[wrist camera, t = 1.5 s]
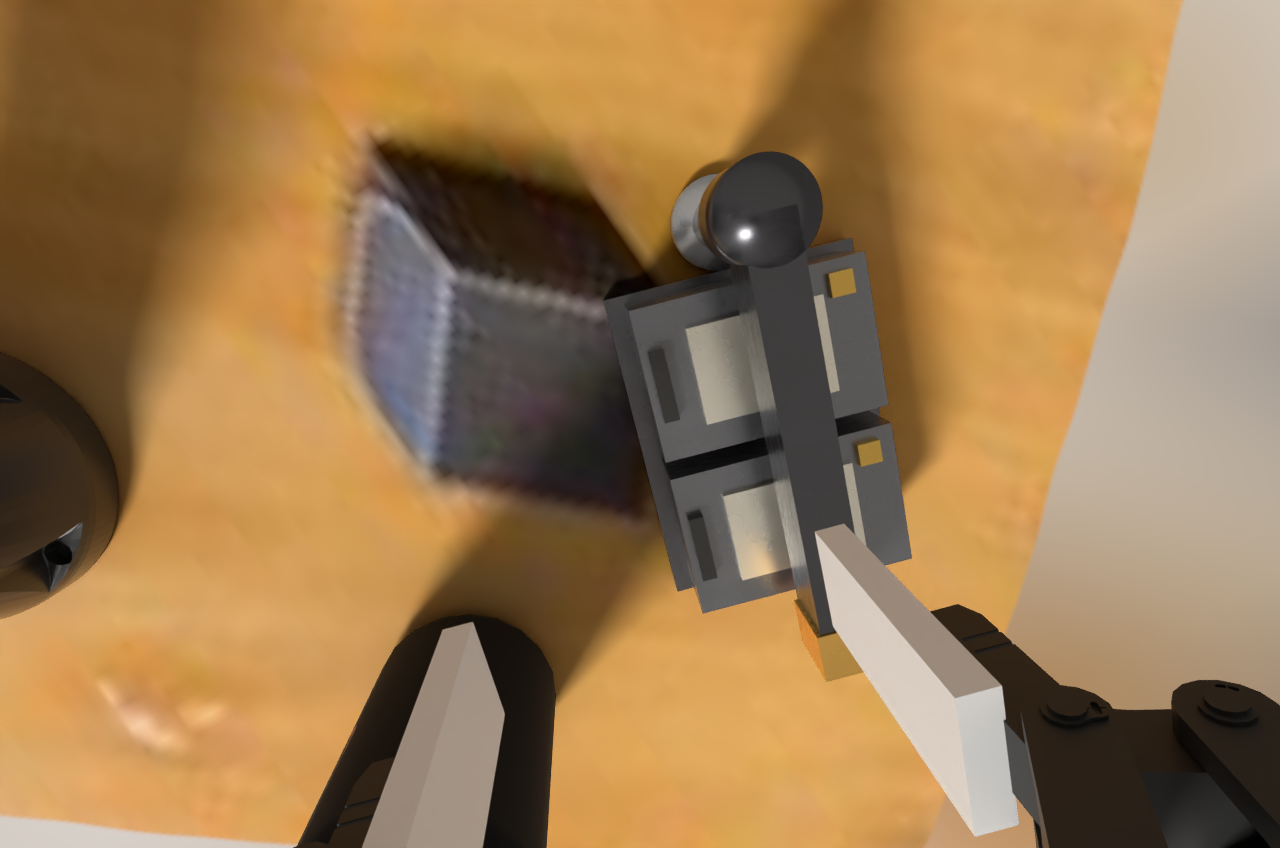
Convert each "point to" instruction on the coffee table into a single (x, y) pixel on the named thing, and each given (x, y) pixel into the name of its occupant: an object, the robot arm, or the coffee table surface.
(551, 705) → the coffee jar
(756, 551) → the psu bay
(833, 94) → the coffee table surface
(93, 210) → the coffee table surface
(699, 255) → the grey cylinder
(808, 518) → the swing arm
